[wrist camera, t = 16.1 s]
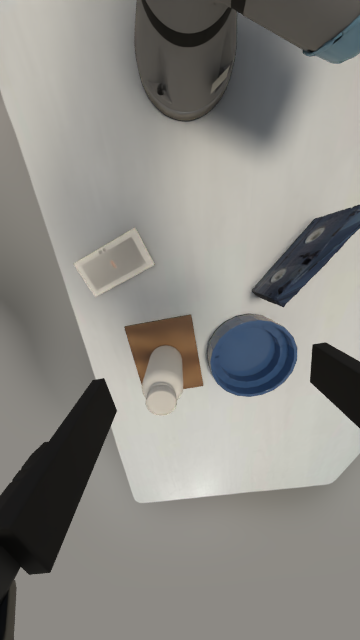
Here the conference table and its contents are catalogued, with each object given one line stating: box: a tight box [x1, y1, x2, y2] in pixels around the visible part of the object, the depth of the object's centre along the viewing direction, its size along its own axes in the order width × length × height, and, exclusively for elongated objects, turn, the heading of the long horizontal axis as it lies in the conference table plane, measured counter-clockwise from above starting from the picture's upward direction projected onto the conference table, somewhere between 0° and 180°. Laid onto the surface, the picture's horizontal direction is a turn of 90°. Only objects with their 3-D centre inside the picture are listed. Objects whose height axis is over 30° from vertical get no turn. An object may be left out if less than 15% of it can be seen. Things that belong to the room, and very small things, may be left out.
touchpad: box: [73, 228, 155, 297], centre depth 36 cm, size 8×15×2 cm, turn 117°
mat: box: [124, 315, 203, 389], centre depth 44 cm, size 20×16×1 cm
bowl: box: [207, 314, 297, 397], centre depth 42 cm, size 19×19×5 cm
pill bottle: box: [142, 345, 183, 416], centre depth 37 cm, size 8×8×15 cm
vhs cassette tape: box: [252, 205, 360, 307], centre depth 33 cm, size 18×3×10 cm, turn 141°
